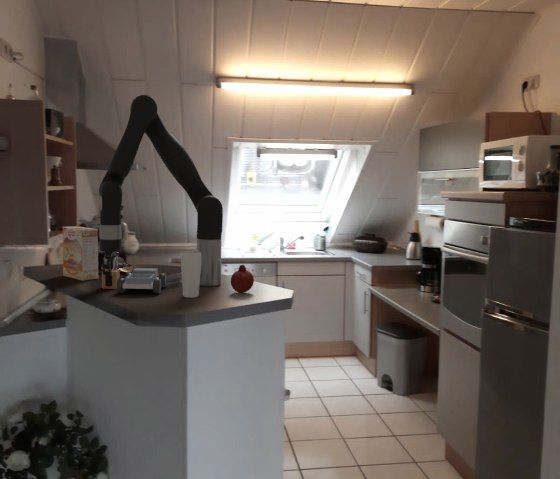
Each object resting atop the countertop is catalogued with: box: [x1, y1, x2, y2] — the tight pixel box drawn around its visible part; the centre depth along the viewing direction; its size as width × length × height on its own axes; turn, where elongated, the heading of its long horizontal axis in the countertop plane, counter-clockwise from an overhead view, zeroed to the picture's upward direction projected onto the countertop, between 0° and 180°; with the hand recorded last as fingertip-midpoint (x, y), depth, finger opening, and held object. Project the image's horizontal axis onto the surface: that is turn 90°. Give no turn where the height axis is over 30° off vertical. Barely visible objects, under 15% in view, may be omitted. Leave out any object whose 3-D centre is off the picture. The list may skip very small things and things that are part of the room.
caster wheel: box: [100, 256, 133, 271], centre depth 222 cm, size 7×11×10 cm
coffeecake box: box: [61, 226, 99, 282], centre depth 208 cm, size 15×7×20 cm, turn 49°
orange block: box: [101, 270, 121, 290], centre depth 191 cm, size 5×5×6 cm
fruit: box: [230, 264, 255, 294], centre depth 186 cm, size 8×8×10 cm
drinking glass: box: [180, 250, 202, 299], centre depth 178 cm, size 7×7×15 cm
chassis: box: [116, 267, 167, 294], centre depth 187 cm, size 14×16×6 cm
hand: (110, 284), depth 191 cm, fingers closed on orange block, 5 cm apart
